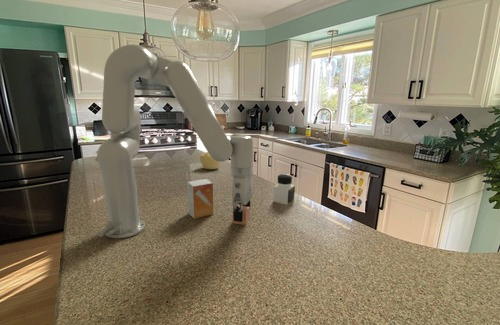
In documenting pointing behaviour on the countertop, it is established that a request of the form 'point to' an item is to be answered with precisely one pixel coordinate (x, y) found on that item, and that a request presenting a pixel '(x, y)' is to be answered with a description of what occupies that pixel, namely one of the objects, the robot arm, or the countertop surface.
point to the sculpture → (208, 161)
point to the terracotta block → (244, 215)
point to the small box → (200, 198)
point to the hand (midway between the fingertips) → (242, 215)
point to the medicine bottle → (284, 190)
